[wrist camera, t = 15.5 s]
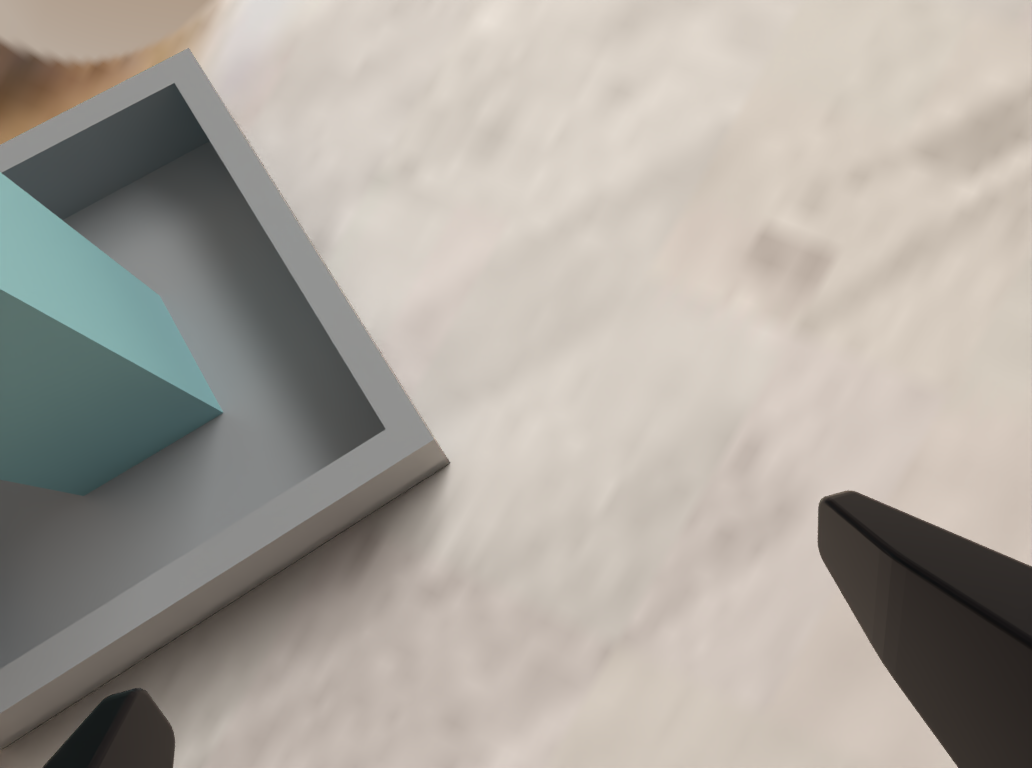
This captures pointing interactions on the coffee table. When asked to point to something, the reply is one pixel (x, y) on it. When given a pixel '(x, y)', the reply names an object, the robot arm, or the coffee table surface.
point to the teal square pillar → (83, 358)
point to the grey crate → (231, 377)
